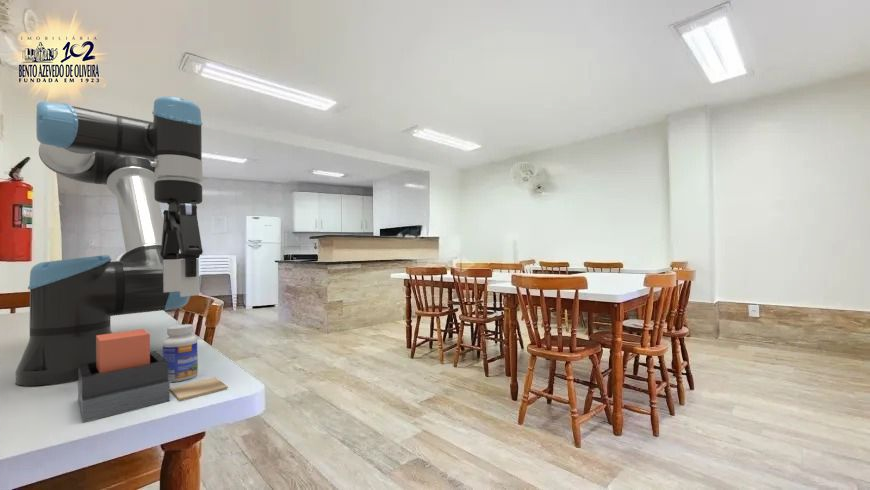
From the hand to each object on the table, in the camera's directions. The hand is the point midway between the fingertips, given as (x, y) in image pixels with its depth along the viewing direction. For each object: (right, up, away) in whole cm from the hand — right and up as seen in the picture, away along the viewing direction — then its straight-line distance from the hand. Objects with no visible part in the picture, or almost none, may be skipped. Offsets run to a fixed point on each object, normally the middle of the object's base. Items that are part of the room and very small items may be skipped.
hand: (180, 293), depth 70 cm
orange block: (-2, -10, -11) cm, 15 cm away
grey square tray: (-2, -16, -11) cm, 19 cm away
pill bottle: (0, -16, 0) cm, 16 cm away
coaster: (+8, -16, -7) cm, 19 cm away
